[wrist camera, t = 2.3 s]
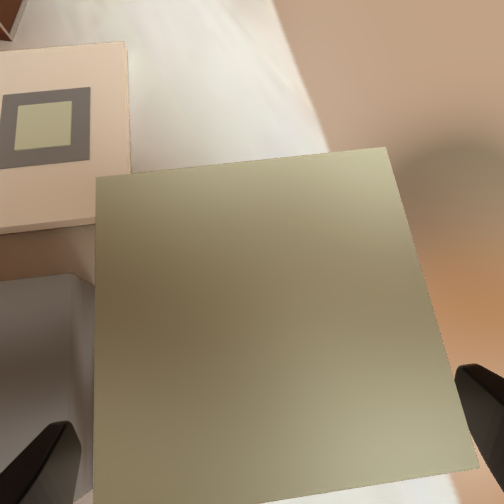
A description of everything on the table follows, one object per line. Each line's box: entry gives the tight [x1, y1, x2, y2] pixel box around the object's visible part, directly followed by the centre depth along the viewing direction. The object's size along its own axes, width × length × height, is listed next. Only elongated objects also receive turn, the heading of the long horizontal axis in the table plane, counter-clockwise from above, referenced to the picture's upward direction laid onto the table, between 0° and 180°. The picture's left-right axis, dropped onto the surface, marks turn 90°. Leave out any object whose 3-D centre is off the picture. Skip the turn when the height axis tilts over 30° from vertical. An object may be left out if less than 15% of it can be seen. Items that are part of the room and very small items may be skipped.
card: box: [0, 41, 131, 234], centre depth 21 cm, size 12×9×1 cm
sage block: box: [93, 147, 480, 504], centre depth 12 cm, size 5×5×13 cm
